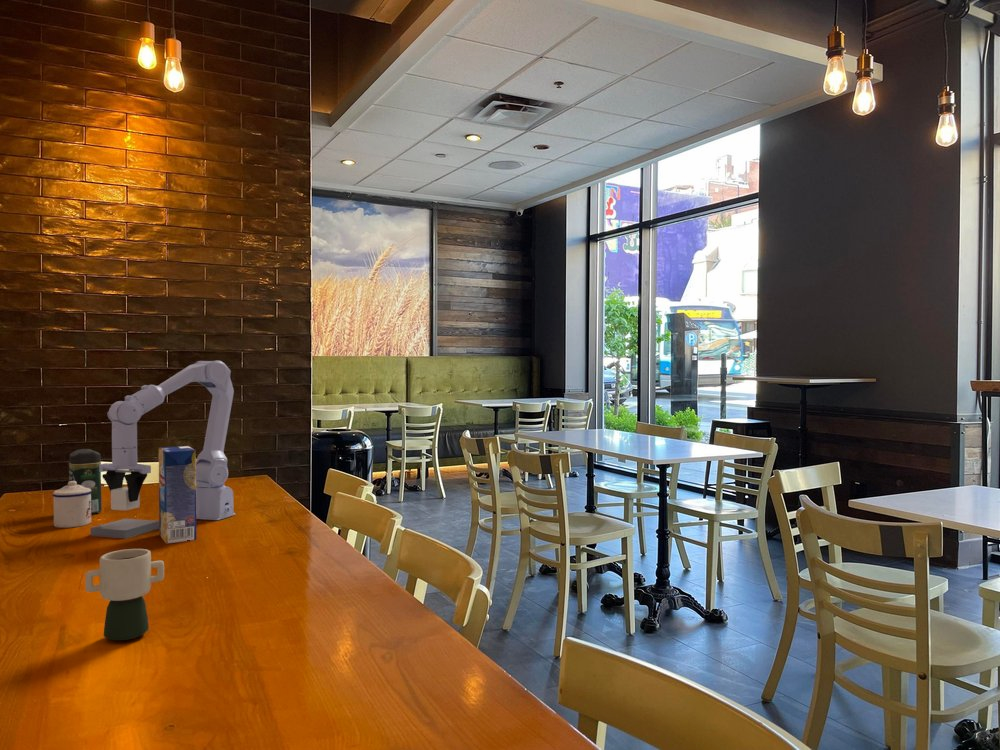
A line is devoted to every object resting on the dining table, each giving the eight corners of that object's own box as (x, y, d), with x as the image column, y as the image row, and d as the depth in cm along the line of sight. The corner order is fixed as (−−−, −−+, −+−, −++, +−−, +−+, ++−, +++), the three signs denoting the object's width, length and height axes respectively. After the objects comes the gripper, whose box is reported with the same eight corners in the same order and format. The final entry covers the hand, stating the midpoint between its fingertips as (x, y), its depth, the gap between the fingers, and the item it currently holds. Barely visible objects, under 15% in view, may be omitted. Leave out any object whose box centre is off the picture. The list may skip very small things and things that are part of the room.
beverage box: (188, 531, 181) (187, 445, 181) (196, 539, 172) (195, 450, 171) (159, 534, 177) (158, 447, 177) (166, 543, 168) (165, 452, 168)
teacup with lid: (95, 524, 189) (95, 481, 189) (56, 530, 183) (55, 485, 182) (85, 517, 198) (85, 476, 197) (47, 522, 192) (47, 480, 191)
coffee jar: (67, 512, 205) (67, 448, 205) (98, 508, 210) (98, 446, 210) (71, 517, 198) (71, 452, 197) (103, 514, 202) (103, 449, 202)
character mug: (160, 622, 116) (159, 544, 116) (168, 636, 110) (167, 553, 110) (84, 637, 110) (83, 554, 109) (88, 652, 104) (87, 565, 103)
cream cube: (139, 507, 182) (139, 487, 182) (125, 510, 177) (125, 490, 177) (125, 506, 183) (124, 486, 183) (111, 509, 178) (110, 489, 178)
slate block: (159, 530, 184) (159, 521, 184) (125, 540, 173) (125, 530, 173) (125, 528, 187) (125, 518, 187) (90, 537, 176) (90, 527, 176)
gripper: (89, 448, 178) (89, 502, 178) (135, 450, 174) (136, 504, 174) (111, 445, 185) (112, 497, 185) (156, 447, 181) (157, 499, 181)
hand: (125, 500), depth 180 cm, fingers closed on cream cube, 5 cm apart
